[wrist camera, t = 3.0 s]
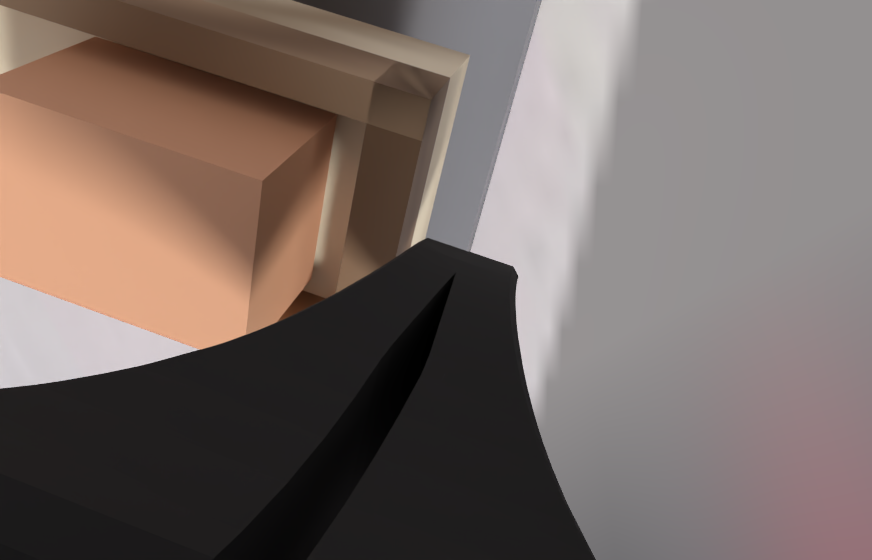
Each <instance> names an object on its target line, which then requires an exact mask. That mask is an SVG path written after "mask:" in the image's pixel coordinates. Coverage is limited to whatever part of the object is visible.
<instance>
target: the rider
mask: <svg viewBox="0 0 872 560" xmlns="http://www.w3.org/2000/svg"><path fill="white" fill-rule="evenodd" d="M336 119H337V114H334V113H331V112H327V111H324V110H321V109H318V108H315V107H312V106H309V105H306V104H303V103H300V102H296V101H293V100H290V99H287V98H284V97H281V96H278V95H275V94H272V93H269V92H266V91H262V90H259V89H256V88H253V87H250V86H247V85H244V84H241V83H238V82H235V81H231V80H228V79H225V78H222V77H219V76H216V75H213V74H210V73H207V72H204V71H200V70H197V69H194V68H191V67H188V66H185V65H182V64H179V63H176V62H173V61H169V60H166V59H163V58H160V57H157V56H154V55H151V54H148V53H145V52H142V51H139V50H135V49H132V48H129V47H126V46H123V45H120V44H117V43H114V42H111V41H108V40H104V39H101V38H98V37H93V38H90V39H88V40H85V41H83V42H80V43H78V44H75V45H73V46H70V47H68V48H65V49H63V50H60V51H58V52H55V53H53V54H50V55H48V56H45V57H43V58H40V59H38V60H35V61H33V62H30V63H28V64H25V65H23V66H20V67H18V68H15V69H13V70H10V71H8V72H5V73H3V74H0V277H2V278H5V279H8V280H11V281H13V282H16V283H19V284H21V285H24V286H27V287H30V288H32V289H35V290H38V291H41V292H43V293H46V294H49V295H52V296H54V297H57V298H60V299H63V300H65V301H68V302H71V303H74V304H76V305H79V306H82V307H85V308H87V309H90V310H93V311H96V312H98V313H101V314H104V315H107V316H109V317H112V318H115V319H118V320H120V321H123V322H126V323H129V324H131V325H134V326H137V327H139V328H142V329H145V330H148V331H150V332H153V333H156V334H159V335H161V336H164V337H167V338H170V339H172V340H175V341H178V342H181V343H183V344H186V345H189V346H192V347H194V348H197V349H200V350H201V349H204V348H208V347H211V346H215V345H218V344H221V343H224V342H227V341H230V340H233V339H236V338H238V337H241V336H244V335H247V334H249V333H252V332H255V331H257V330H260V329H262V328H264V327H267V326H269V325H271V324H274V323H276V322H277V321H278V320H279V319H280V317H281V316H282V315H283V314H284V312H285V311H286V310H287V309H288V307H289V306H290V305H291V304H292V302H293V301H294V300H295V299H296V297H297V296H298V295H299V294H300V292H301V291H302V290H303V289H304V287H305V286H306V285H307V283H308V282H309V281H310V280H311V277H312V271H313V264H314V258H315V252H316V246H317V239H318V233H319V227H320V220H321V214H322V208H323V201H324V195H325V189H326V182H327V176H328V170H329V163H330V157H331V151H332V144H333V138H334V132H335V126H336Z"/></svg>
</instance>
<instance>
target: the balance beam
mask: <svg viewBox="0 0 872 560" xmlns="http://www.w3.org/2000/svg"><path fill="white" fill-rule="evenodd" d="M540 4H541V0H0V74H3V73H5V72H8V71H10V70H13V69H15V68H18V67H20V66H23V65H25V64H28V63H30V62H33V61H35V60H38V59H40V58H43V57H45V56H48V55H50V54H53V53H55V52H58V51H60V50H63V49H65V48H68V47H70V46H73V45H75V44H78V43H80V42H83V41H85V40H88V39H90V38H93V37H98V38H101V39H104V40H108V41H111V42H114V43H117V44H120V45H123V46H126V47H129V48H132V49H135V50H139V51H142V52H145V53H148V54H151V55H154V56H157V57H160V58H163V59H166V60H169V61H173V62H176V63H179V64H182V65H185V66H188V67H191V68H194V69H197V70H200V71H204V72H207V73H210V74H213V75H216V76H219V77H222V78H225V79H228V80H231V81H235V82H238V83H241V84H244V85H247V86H250V87H253V88H256V89H259V90H262V91H266V92H269V93H272V94H275V95H278V96H281V97H284V98H287V99H290V100H293V101H296V102H300V103H303V104H306V105H309V106H312V107H315V108H318V109H321V110H324V111H327V112H331V113H334V114H337V119H336V126H335V132H334V138H333V144H332V151H331V157H330V163H329V170H328V176H327V182H326V189H325V195H324V201H323V208H322V214H321V220H320V227H319V233H318V239H317V246H316V252H315V258H314V264H313V271H312V277H311V280H310V281H309V282H308V283H307V285H306V286H305V287H304V289H303V290H302V291H301V292H300V294H299V295H298V296H297V297H296V299H295V300H294V301H293V302H292V304H291V305H290V306H289V307H288V309H287V310H286V311H285V312H284V314H283V315H282V316H281V317H280V319H279V320H278V321H281V320H283V319H285V318H287V317H289V316H291V315H293V314H295V313H298V312H300V311H302V310H304V309H306V308H308V307H310V306H312V305H314V304H316V303H318V302H320V301H322V300H324V299H326V298H328V297H330V296H332V295H333V294H335V293H337V292H339V291H341V290H342V289H344V288H346V287H348V286H349V285H351V284H353V283H355V282H356V281H358V280H360V279H361V278H363V277H365V276H367V275H368V274H370V273H372V272H373V271H375V270H376V269H378V268H380V267H381V266H383V265H384V264H386V263H388V262H389V261H391V260H392V259H394V258H395V257H397V256H398V255H400V254H401V253H403V252H404V251H406V250H407V249H409V248H410V247H412V246H413V245H415V244H416V243H418V242H420V241H422V240H424V239H426V238H430V239H433V240H436V241H439V242H442V243H445V244H448V245H451V246H454V247H457V248H460V249H463V250H466V251H468V252H470V250H471V246H472V243H473V239H474V236H475V232H476V229H477V225H478V222H479V218H480V215H481V211H482V208H483V204H484V201H485V197H486V194H487V190H488V187H489V183H490V180H491V176H492V173H493V169H494V166H495V162H496V159H497V155H498V151H499V148H500V144H501V141H502V137H503V134H504V130H505V127H506V123H507V120H508V116H509V113H510V109H511V106H512V102H513V99H514V95H515V92H516V88H517V85H518V81H519V78H520V74H521V71H522V67H523V64H524V60H525V57H526V53H527V50H528V46H529V43H530V39H531V35H532V32H533V28H534V25H535V21H536V18H537V14H538V11H539V7H540ZM278 321H277V322H278Z"/></svg>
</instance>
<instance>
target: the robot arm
mask: <svg viewBox="0 0 872 560" xmlns="http://www.w3.org/2000/svg"><path fill="white" fill-rule="evenodd" d="M517 279H518V275H517V273H516V271H515V269H514V267H513V266H510V265H507V264H504V263H501V262H498V261H495V260H492V259H489V258H486V257H483V256H480V255H477V254H474V253H471V252H468V251H466V250H463V249H460V248H457V247H454V246H451V245H448V244H445V243H442V242H439V241H436V240H433V239H430V238H426V239H424V240H422V241H420V242H418V243H416V244H415V245H413V246H412V247H410V248H409V249H407V250H406V251H404V252H403V253H401V254H400V255H398V256H397V257H395V258H394V259H392V260H391V261H389V262H388V263H386V264H384V265H383V266H381V267H380V268H378V269H376V270H375V271H373V272H372V273H370V274H368V275H367V276H365V277H363V278H361V279H360V280H358V281H356V282H355V283H353V284H351V285H349V286H348V287H346V288H344V289H342V290H341V291H339V292H337V293H335V294H333V295H332V296H330V297H328V298H326V299H324V300H322V301H320V302H318V303H316V304H314V305H312V306H310V307H308V308H306V309H304V310H302V311H300V312H298V313H295V314H293V315H291V316H289V317H287V318H285V319H283V320H281V321H278V322H276V323H274V324H271V325H269V326H267V327H264V328H262V329H260V330H257V331H255V332H252V333H249V334H247V335H244V336H241V337H238V338H236V339H233V340H230V341H227V342H224V343H221V344H218V345H215V346H211V347H208V348H204V349H201V350H197V351H194V352H190V353H186V354H183V355H179V356H176V357H172V358H168V359H165V360H161V361H158V362H154V363H150V364H146V365H142V366H138V367H133V368H128V369H123V370H119V371H114V372H109V373H104V374H99V375H93V376H88V377H82V378H76V379H71V380H65V381H59V382H52V383H45V384H38V385H30V386H21V387H12V388H3V389H0V560H596V559H595V557H594V555H593V553H592V552H591V550H590V548H589V546H588V544H587V542H586V540H585V538H584V536H583V534H582V532H581V530H580V528H579V526H578V524H577V522H576V520H575V518H574V516H573V515H572V512H571V510H570V508H569V506H568V504H567V502H566V500H565V497H564V495H563V493H562V490H561V488H560V486H559V483H558V481H557V478H556V476H555V474H554V471H553V469H552V466H551V463H550V461H549V458H548V455H547V453H546V450H545V447H544V444H543V442H542V438H541V435H540V432H539V429H538V426H537V422H536V419H535V416H534V412H533V408H532V404H531V401H530V397H529V393H528V389H527V385H526V380H525V375H524V370H523V365H522V359H521V353H520V347H519V340H518V333H517V324H516V308H515V295H516V284H517Z"/></svg>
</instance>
